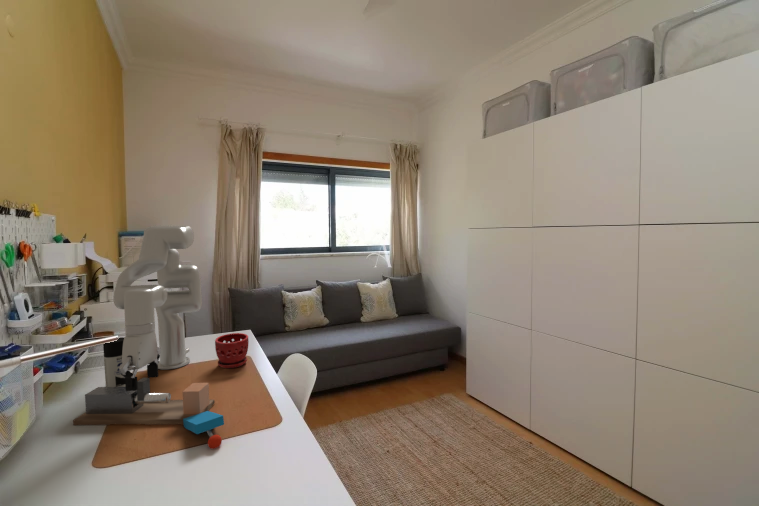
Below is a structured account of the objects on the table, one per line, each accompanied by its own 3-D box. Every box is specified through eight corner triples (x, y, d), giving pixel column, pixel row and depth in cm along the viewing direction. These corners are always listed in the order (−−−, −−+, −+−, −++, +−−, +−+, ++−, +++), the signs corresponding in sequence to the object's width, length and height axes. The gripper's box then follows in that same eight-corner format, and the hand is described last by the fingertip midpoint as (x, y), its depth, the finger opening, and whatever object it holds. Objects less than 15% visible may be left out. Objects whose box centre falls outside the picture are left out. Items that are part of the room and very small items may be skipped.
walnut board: (104, 404, 115) (104, 400, 115) (214, 403, 115) (214, 399, 115) (73, 425, 103) (73, 420, 103) (195, 424, 103) (195, 419, 103)
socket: (193, 404, 112) (193, 382, 111) (209, 404, 112) (208, 382, 111) (183, 413, 106) (182, 391, 105) (199, 413, 106) (199, 391, 105)
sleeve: (99, 405, 111) (98, 387, 111) (143, 405, 111) (142, 386, 111) (86, 414, 106) (84, 394, 106) (132, 413, 106) (131, 394, 106)
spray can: (117, 401, 117) (114, 343, 115) (101, 399, 118) (97, 342, 117) (135, 392, 123) (132, 337, 122) (119, 391, 125) (116, 336, 123)
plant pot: (209, 366, 147) (208, 338, 146) (237, 357, 158) (236, 331, 157) (227, 373, 140) (226, 344, 139) (255, 363, 151) (254, 335, 150)
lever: (185, 443, 101) (203, 455, 88) (182, 418, 102) (200, 426, 89) (210, 434, 106) (231, 444, 93) (207, 410, 107) (227, 416, 94)
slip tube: (101, 401, 110) (99, 378, 110) (171, 400, 110) (170, 377, 110) (93, 405, 107) (92, 382, 107) (165, 405, 107) (164, 381, 107)
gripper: (146, 322, 116) (148, 372, 116) (106, 337, 98) (109, 396, 99) (169, 321, 116) (171, 372, 116) (132, 336, 98) (135, 396, 99)
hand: (142, 383), depth 108 cm, fingers open, 9 cm apart
